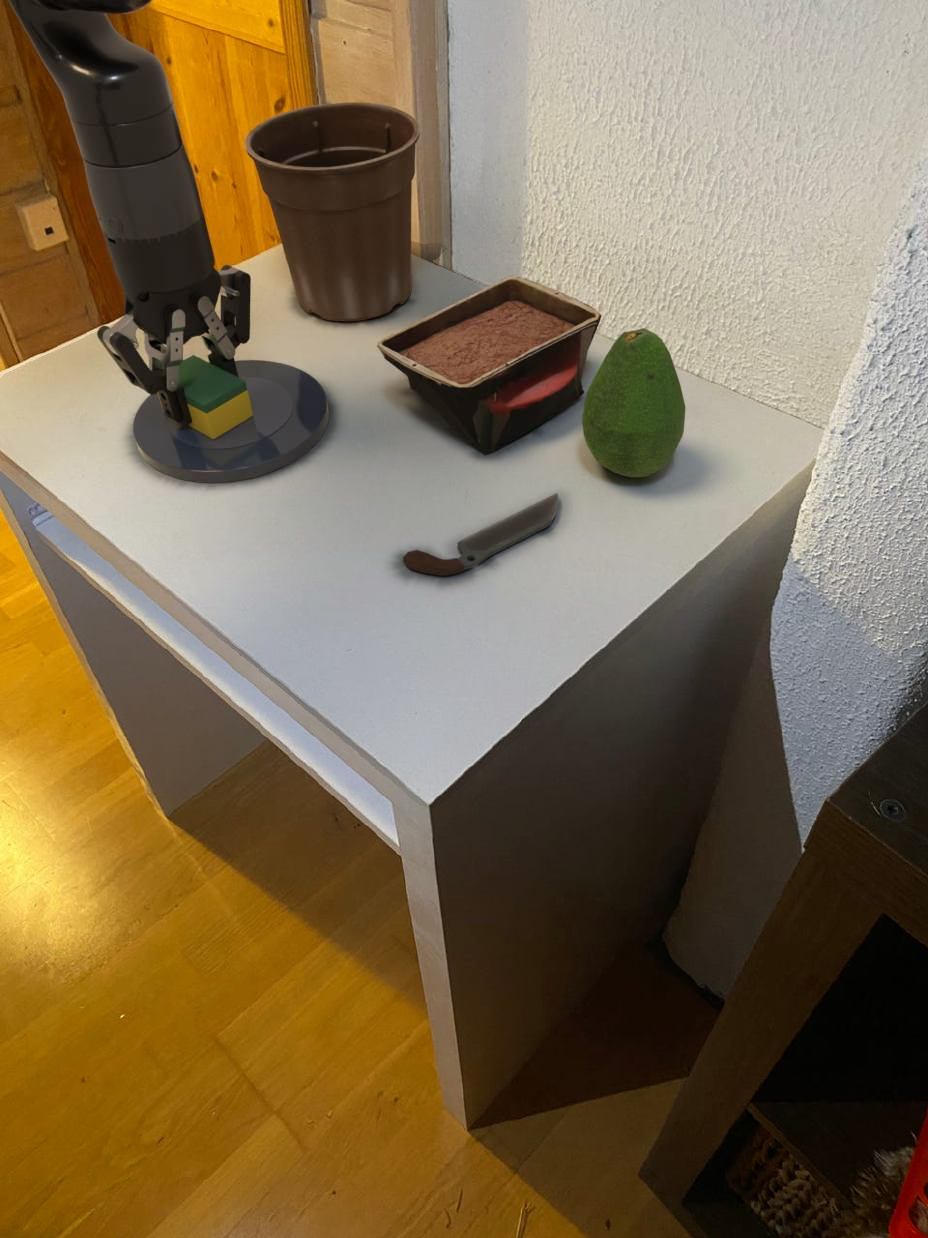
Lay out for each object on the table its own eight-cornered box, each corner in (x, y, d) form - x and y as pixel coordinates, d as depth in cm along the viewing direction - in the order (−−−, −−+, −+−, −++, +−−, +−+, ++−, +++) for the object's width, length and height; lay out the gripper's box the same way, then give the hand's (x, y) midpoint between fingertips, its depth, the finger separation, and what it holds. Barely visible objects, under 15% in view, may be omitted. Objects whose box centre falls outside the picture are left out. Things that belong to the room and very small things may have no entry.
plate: (220, 510, 74) (216, 497, 73) (97, 432, 82) (93, 420, 81) (368, 412, 83) (366, 400, 82) (244, 351, 90) (241, 339, 90)
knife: (429, 590, 67) (429, 584, 66) (400, 560, 69) (399, 553, 69) (578, 514, 72) (579, 508, 72) (547, 489, 74) (547, 482, 74)
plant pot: (288, 346, 91) (256, 177, 79) (265, 272, 102) (234, 114, 90) (447, 318, 94) (439, 151, 82) (409, 249, 104) (397, 92, 92)
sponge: (213, 440, 78) (204, 404, 76) (162, 411, 82) (151, 376, 79) (253, 415, 81) (245, 380, 78) (202, 388, 84) (193, 354, 81)
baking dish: (378, 411, 86) (356, 324, 78) (525, 322, 91) (519, 230, 83) (473, 497, 79) (460, 410, 71) (627, 394, 84) (631, 302, 76)
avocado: (635, 428, 80) (652, 298, 71) (695, 476, 75) (720, 343, 66) (559, 459, 77) (566, 328, 68) (616, 511, 72) (631, 377, 64)
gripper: (194, 168, 74) (240, 358, 86) (38, 233, 66) (112, 430, 79) (257, 191, 70) (294, 385, 83) (99, 263, 63) (166, 464, 76)
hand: (205, 406), depth 81 cm, fingers closed on sponge, 4 cm apart
